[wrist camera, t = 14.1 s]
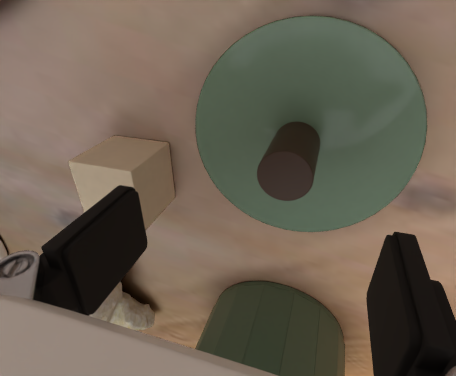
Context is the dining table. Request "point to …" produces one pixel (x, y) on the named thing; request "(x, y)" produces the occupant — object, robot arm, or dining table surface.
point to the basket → (274, 331)
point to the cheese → (125, 311)
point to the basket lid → (311, 123)
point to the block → (126, 173)
